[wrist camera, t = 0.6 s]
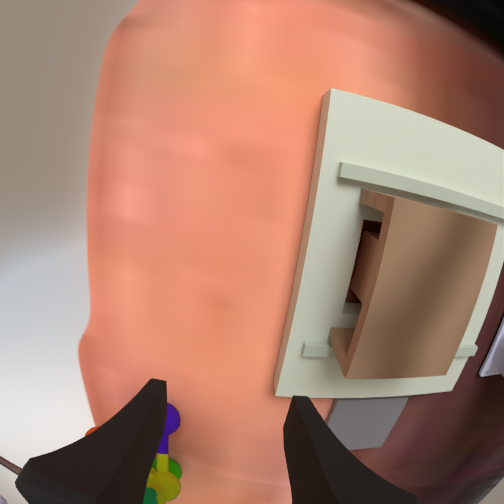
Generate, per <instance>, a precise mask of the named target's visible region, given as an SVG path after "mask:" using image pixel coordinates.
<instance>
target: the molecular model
mask: <svg viewBox="0 0 504 504" xmlns="http://www.w3.org/2000/svg"><path fill="white" fill-rule="evenodd" d="M179 426H180V416H179V412H178V411H177V410H176V408H175V407H174V406H172V405H171V404H169V403H167V419H166V424H165V428H164V433H163V436H162V439H161V442H160V445H159V448H158V451H157V458H155V459H154V462H153V465H152V468H151V471H150V474H149V477H148V481H147V485H146V489H145V494H144V499H143V504H165V501H170V500H172V499H175V498H176V497H177V496H178V494H179V493H180V487H181V485H180V482H179V479H180V477H181V473H182V471H181V468H180V466H179V465H178V464H177V462H175V461H173V460H171V459H168V435H170V434H172V433H174V432H175V431H176V430H177V429H178V427H179ZM99 427H100V426H98V427H93V428H91V429H90V430H89V431H87V433H86V434H85V436H86V435H88V434H90V433H91V432H93V431H94V430H96V429H97V428H99Z"/></svg>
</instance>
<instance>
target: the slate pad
mask: <svg viewBox="0 0 504 504" xmlns="http://www.w3.org/2000/svg"><path fill="white" fill-rule="evenodd" d="M408 399H409V396H408V395H405V396H391V397H369V398H335V400H334V403H333V405H332V408H331V410H330V413H329V415H328V417H327V420H326V422H325V423H326V424H327V425H328V427H329V428H330V429H331V430H332V432H333V433H334V434H335V436H336V437H337V438H338V439H339V440H340V441H341V443H342V444H343V445H344V446H345V447H346V448H347V449H348V450H353V449H365V448H375V447H381V446H382V445H383V443H384V441H385V440H386V438H387V436H388V435H389V433H390V431H391V430H392V428H393V426H394V424H395V423H396V421H397V419H398V417H399V415H400V414H401V412H402V410H403V408H404V406H405V404H406V402H407V400H408Z"/></svg>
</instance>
